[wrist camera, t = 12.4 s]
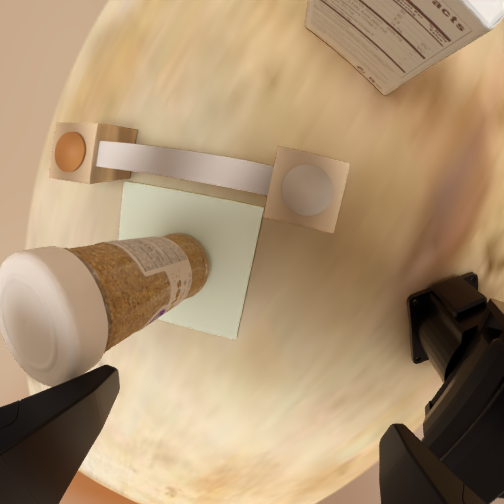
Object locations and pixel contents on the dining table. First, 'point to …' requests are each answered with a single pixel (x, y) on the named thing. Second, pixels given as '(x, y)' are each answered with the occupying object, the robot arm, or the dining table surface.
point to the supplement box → (399, 33)
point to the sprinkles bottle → (91, 299)
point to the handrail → (206, 171)
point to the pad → (212, 241)
